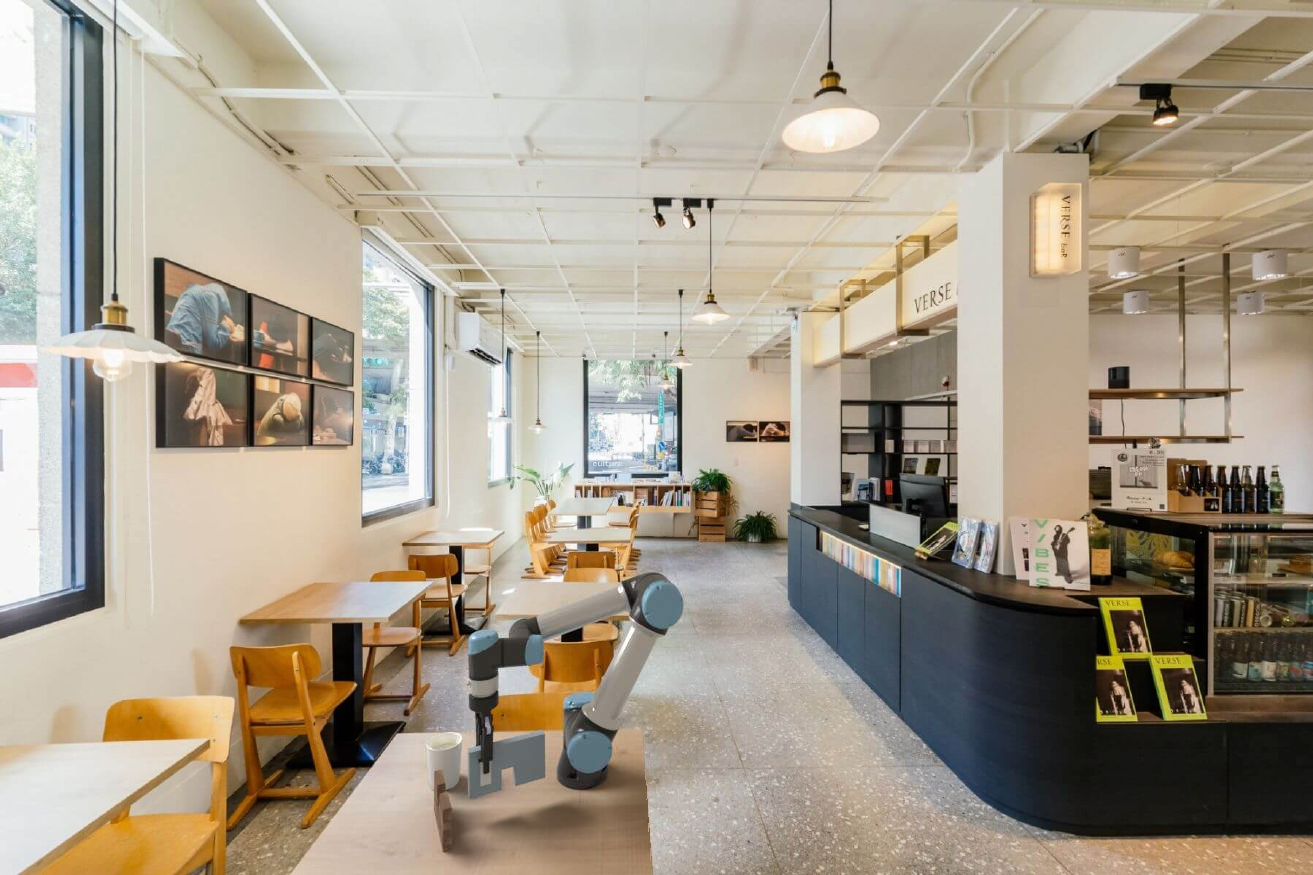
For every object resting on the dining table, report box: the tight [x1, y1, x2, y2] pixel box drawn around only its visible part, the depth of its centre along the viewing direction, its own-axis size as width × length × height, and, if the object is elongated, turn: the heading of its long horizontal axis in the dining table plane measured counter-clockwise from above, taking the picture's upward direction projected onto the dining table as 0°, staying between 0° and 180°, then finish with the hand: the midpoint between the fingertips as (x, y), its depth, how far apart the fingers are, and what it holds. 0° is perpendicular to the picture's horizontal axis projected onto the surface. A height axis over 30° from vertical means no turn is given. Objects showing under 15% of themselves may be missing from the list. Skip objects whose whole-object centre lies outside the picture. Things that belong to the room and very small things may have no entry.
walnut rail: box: [433, 769, 453, 852], centre depth 145 cm, size 2×18×10 cm, turn 27°
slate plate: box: [467, 729, 546, 800], centre depth 152 cm, size 20×2×12 cm, turn 118°
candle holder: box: [425, 731, 464, 791], centre depth 164 cm, size 10×10×12 cm
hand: (484, 780), depth 150 cm, fingers closed on slate plate, 2 cm apart
